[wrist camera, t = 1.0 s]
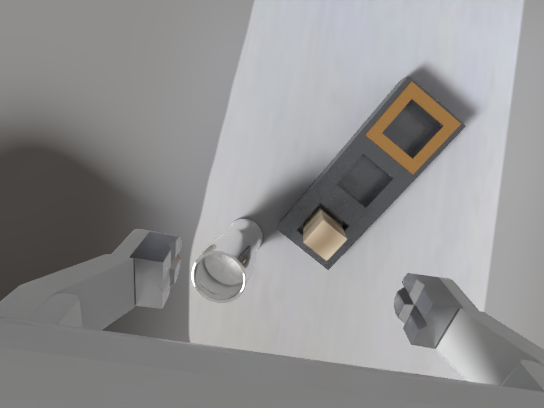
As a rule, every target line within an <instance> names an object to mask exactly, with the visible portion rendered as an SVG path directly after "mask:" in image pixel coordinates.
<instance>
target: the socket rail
mask: <svg viewBox="0 0 544 408" xmlns="http://www.w3.org/2000/svg"><path fill="white" fill-rule="evenodd" d="M464 127H465V125H464V124H463V123H462V122H461V121H460V120H458V119H457V118H456V117H455V116H454V115H453V114H451V113H450V112H449V111H448V110H447V109H446V108H444V107H443V106H442V105H441V104H440V103H439V102H437V101H436V100H435V99H434V98H433V97H432V96H430V95H429V94H428V93H427V92H426V91H425V90H423V89H422V88H421V87H420V86H419V85H418V84H416V83H415V82H414V81H413V80H412V79H411V78H409V77H406V78H404V79H403V80H401V81H400V82H399V83H398V84H397V85H396V86H395V87H394V88H393V90H392V91H391V92H390V93H389V94H388V95H387V97H386V98H385V99H384V100H383V101H382V103H381V104H380V105H379V106H378V107H377V108H376V110H375V111H374V112H373V113H372V114H371V116H370V117H369V118H368V119H367V120H366V121H365V123H364V124H363V125H362V126H361V127H360V128H359V130H358V131H357V132H356V133H355V134H354V136H353V137H352V138H351V139H350V140H349V141H348V143H347V144H346V145H345V146H344V147H343V148H342V150H341V151H340V152H339V153H338V154H337V156H336V157H335V158H334V159H333V160H332V161H331V163H330V164H329V165H328V166H327V167H326V168H325V170H324V171H323V172H322V173H321V174H320V176H319V177H318V178H317V179H316V180H315V181H314V183H313V184H312V185H311V186H310V187H309V189H308V190H307V191H306V192H305V193H304V194H303V196H302V197H301V198H300V199H299V200H298V201H297V203H296V204H295V205H294V206H293V207H292V209H291V210H290V211H289V212H288V213H287V214H286V216H285V217H284V218H283V219H282V220H281V221H280V223H279V226H278V230H279V231H280V232H281V233H283V234H284V235H285V236H286V237H288V238H289V239H290V240H291V241H293V242H294V243H295V244H296V245H298V246H299V247H300V248H301V249H303V250H304V251H305V252H306V253H308V254H309V255H310V256H311V257H313V258H314V259H315V260H316V261H318V262H319V263H320V264H321V265H323V266H324V267H325V268H326V269H328V270H329V269H330V268H331V267H332V266H333V265H334V263H335V262H336V261H337V260H338V259H339V258H340V257H341V256H342V255H343V254H344V253H345V252H346V251H347V250H348V249H349V248H350V247H351V246H352V245H353V244H354V243H355V241H356V240H357V239H358V238H359V237H360V236H361V235H362V234H363V233H364V232H365V231H366V230H367V229H368V228H369V227H370V226H371V225H372V224H373V223H374V222H375V221H376V220H377V218H378V217H379V216H380V215H381V214H382V213H383V212H384V211H385V210H386V209H387V208H388V207H389V206H390V205H391V204H392V203H393V202H394V201H395V200H396V199H397V198H398V196H399V195H400V194H401V193H402V192H403V191H404V190H405V189H406V188H407V187H408V186H409V185H410V184H411V183H412V182H413V181H414V180H415V179H416V178H417V177H418V176H419V175H420V173H421V172H422V171H423V170H424V169H425V168H426V167H427V166H428V165H429V164H430V163H431V162H432V161H433V160H434V159H435V158H436V157H437V156H438V155H439V154H440V153H441V152H442V150H443V149H444V148H445V147H446V146H447V145H448V144H449V143H450V142H451V141H452V140H453V139H454V138H455V137H456V136H457V135H458V134H459V133H460V132H461V131H462V130H463V128H464ZM320 206H321V207H322V208H323V209H325V210H326V211H327V212H328V213H330V214H331V215H332V216H333V217H334V218H336V219H337V220H338V221H339V222H340V223H341V226H342V228H343V230H344V233H345V235H346V237H347V240H346V241H345V242H344V243H343V244H342V246H341V247H340V248H339V249H338V250H337V251H336V252H335V253H334V254H333V255H332V256H331V257H330V258H329V259H328V260H327V261H326V260H325V259H323V258H322V257H321V256H320V255H318V254H317V253H316V252H315V251H313V250H312V249H311V248H310V247H308V246H307V245H306V244H305V243H303V225H304V224H305V222H306V221H307V220H308V219H309V218H310V217H311V216H312V214H313V213H314V212H315V211H316V210H317V209H318V208H319V207H320Z"/></svg>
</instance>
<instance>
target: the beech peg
mask: <svg viewBox="0 0 544 408" xmlns="http://www.w3.org/2000/svg"><path fill="white" fill-rule="evenodd" d="M346 240H347V237H346V235H345V233H344V230H343V228H342V226H341V223H340V222H339V221H338V220H337V219H336V218H334V217H333V216H332V215H331V214H330V213H328V212H327V211H326V210H325V209H323V208H322V207H321V206H320V207H319V208H318V209H317V210H316V211H315V212H314V213H313V214H312V216H311V217H310V218H309V219H308V220H307V221H306V222H305V224H304V225H303V243H305V244H306V245H307V246H308V247H310V248H311V249H312V250H313V251H315V252H316V253H317V254H318V255H320V256H321V257H322V258H323V259H325V260H326V261H327V260H328V259H329V258H330V257H331V256H332V255H333V254H334V253H335V252H336V251H337V250H338V249H339V248H340V247H341V246H342V244H343V243H344V242H345V241H346Z"/></svg>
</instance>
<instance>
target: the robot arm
mask: <svg viewBox="0 0 544 408" xmlns="http://www.w3.org/2000/svg"><path fill="white" fill-rule="evenodd" d="M180 249H181V237H180V236H175V235H170V234H164V233H159V232H153V231H152V232H151V231H147V230H140V229H135V230H133V232H132V233H131V234H130V235H129V236H128V237H127V238H126V239H125V240H124V241H123V242H122V243H121V244H120V246H119V247H118V248H117V249H116V250H115V251H114V252H113V253H112V254H111V255H109V254H105V255H102V256H100V257H97V258H94V259H91V260H89V261H86V262H83V263H80V264H78V265H75V266H72V267H69V268H67V269H64V270H61V271H58V272H56V273H53V274H50V275H47V276H44V277H42V278H39V279H36V280H34V281H31V282H28V283H25V284H23V285H20V286H19V287H17V288H16V289H15V290H14V291H13V292H11V293H10V294H9V295H8V296H6V297H5V298H4V299H3V300H2V301H1V302H0V408H544V350H543V349H542V348H540V347H539V346H537V345H535V344H534V343H532V342H531V341H529V340H527V339H526V338H524V337H523V336H521V335H519V334H518V333H516V332H515V331H513V330H512V329H510V328H508V327H507V326H505V325H503V324H502V323H500V322H499V321H497V320H496V319H494V318H492V317H491V316H489V315H488V314H486V313H485V312H481V311H479V310H478V309H477V308H476V307H475V305H474V304H473V303H472V302H471V301H470V300H469V298H468V297H467V296H466V295H465V294H464V293H463V291H462V290H461V289H460V288H459V287H458V286H457V284H456V283H455V282H454V281H453V280H451V279H449V278H442V277H432V276H425V275H418V274H411V273H408V274H407V275H406V276H405V277H404V279H403V281H402V283H403V286H404V288H402V289H401V290H399V291H398V292H397V294H396V296H395V300H394V308H395V313H396V315H397V317H398V318H399V319H400V320H401V321H402V322H403V323H405V324H404V327H403V329H404V331H405V333H406V335H407V337H408V339H409V341H410V343H411V345H417V346H423V347H429V348H434V349H436V351H437V352H438V353H439V354H440V355H441V356H442V357H443V358H444V359H445V360H446V361H447V362H448V363H449V364H450V365H451V366H452V367H453V368H454V369H455V370H456V371H457V372H458V373H459V374H460V375H461V376H462V377H463V378H464V379H465V380H466V381H462V380H455V379H448V378H441V377H433V376H426V375H419V374H411V373H404V372H397V371H390V370H382V369H375V368H368V367H361V366H354V365H347V364H339V363H332V362H325V361H318V360H311V359H304V358H296V357H289V356H282V355H275V354H267V353H260V352H253V351H246V350H238V349H231V348H224V347H216V346H209V345H202V344H194V343H187V342H180V341H172V340H165V339H158V338H151V337H144V336H136V335H130V334H122V333H116V332H108V331H101V330H102V329H104V328H105V327H107V326H108V325H109V324H111V323H112V322H114V321H115V320H116V319H118V318H119V317H121V316H122V315H124V314H125V313H127V312H128V311H130V310H131V309H132V308H134V307H135V305H136V306H144V307H153V308H163V306H164V304H165V302H166V300H167V298H168V295H169V293H170V286H172V285H174V283H175V281H176V279H177V276H178V272H179V268H180V260H181V258H180V256H179V255H178V252H179V251H180Z"/></svg>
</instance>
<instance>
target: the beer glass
mask: <svg viewBox="0 0 544 408" xmlns="http://www.w3.org/2000/svg"><path fill="white" fill-rule="evenodd" d="M262 239H263V235H262V231H261V229H260V227H259V226H258V224H257V223H255V222H254V221H252V220H250V219H238V220H236V221H234V222H233V223H231V225H230V226H229V227H228V230H227V232H226V233H224V234H222V235H220V236H218V237H217V238H215V239H214V240H213V241H212V242H211V243H209V244H208V246H207V247H206V248H205V249H204V250H203V252H202V253H201V255H200V256H199V258H198V259H197V260H196V262H195V263H194V266H193V269H192V281H193V284H194V286H195V288H196V289H197V291H198V292H199V293H200V294H201V295H202V296H203V297H205V298H206V299H208V300H210V301H213V302H217V303H226V302H230V301H233V300H235V299H236V298H238V297H239V296H240V295H241V294H242V292H243V291H244V289H245V287H246V285H247V283H248V282H249V280H250V278H251V276H252V274H253V271H254V268H255V263H256V250H257V249H258V248H259V247H260V245H261V243H262Z"/></svg>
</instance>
